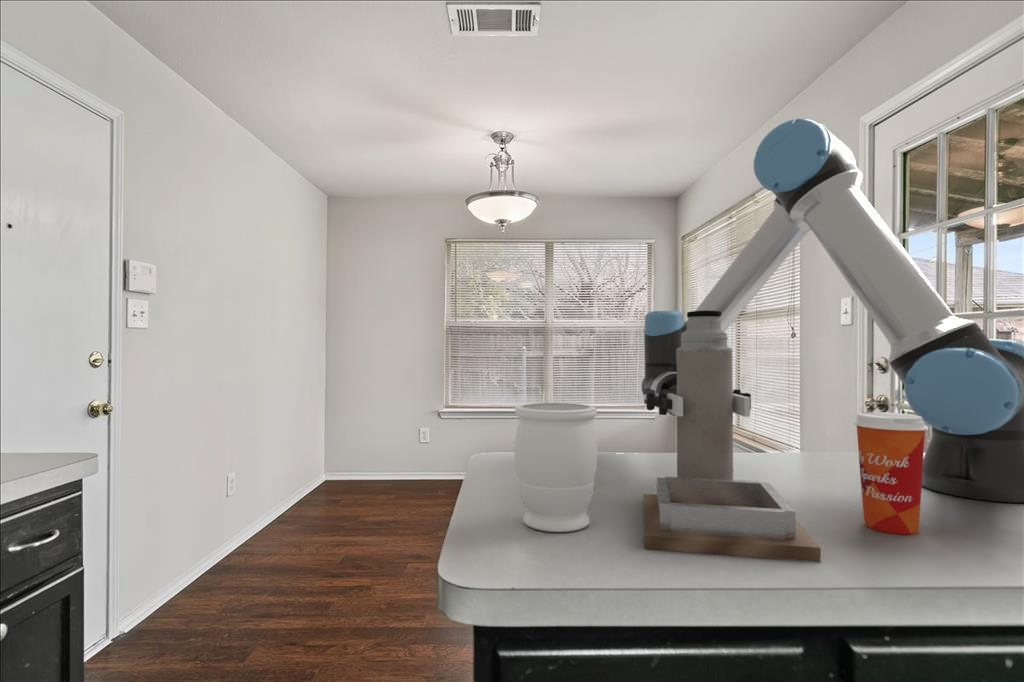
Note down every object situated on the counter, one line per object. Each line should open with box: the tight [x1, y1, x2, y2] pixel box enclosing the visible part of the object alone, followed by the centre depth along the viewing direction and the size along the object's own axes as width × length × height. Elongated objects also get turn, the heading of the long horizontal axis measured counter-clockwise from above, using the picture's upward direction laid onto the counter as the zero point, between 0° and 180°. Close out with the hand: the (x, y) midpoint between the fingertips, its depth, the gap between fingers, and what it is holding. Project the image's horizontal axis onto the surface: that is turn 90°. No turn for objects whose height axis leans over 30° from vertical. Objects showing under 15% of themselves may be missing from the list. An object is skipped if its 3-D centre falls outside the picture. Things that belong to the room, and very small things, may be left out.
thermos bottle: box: [676, 310, 734, 480], centre depth 84 cm, size 8×8×28 cm
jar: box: [514, 402, 599, 533], centre depth 72 cm, size 11×10×15 cm
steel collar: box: [656, 476, 797, 540], centre depth 70 cm, size 14×14×3 cm
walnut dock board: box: [643, 493, 822, 563], centre depth 70 cm, size 18×18×2 cm
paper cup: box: [853, 411, 929, 536], centre depth 70 cm, size 8×8×14 cm
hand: (713, 407), depth 80 cm, fingers open, 9 cm apart
